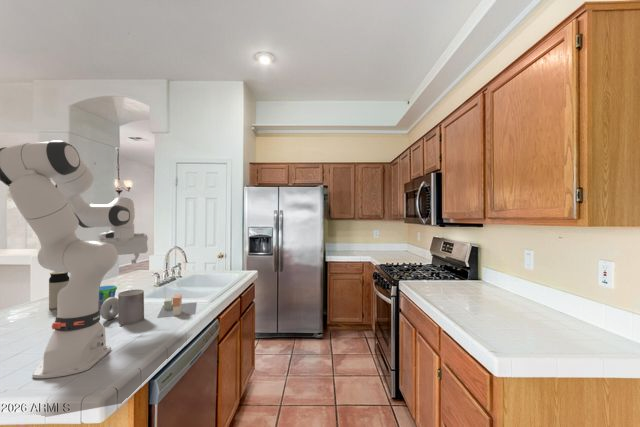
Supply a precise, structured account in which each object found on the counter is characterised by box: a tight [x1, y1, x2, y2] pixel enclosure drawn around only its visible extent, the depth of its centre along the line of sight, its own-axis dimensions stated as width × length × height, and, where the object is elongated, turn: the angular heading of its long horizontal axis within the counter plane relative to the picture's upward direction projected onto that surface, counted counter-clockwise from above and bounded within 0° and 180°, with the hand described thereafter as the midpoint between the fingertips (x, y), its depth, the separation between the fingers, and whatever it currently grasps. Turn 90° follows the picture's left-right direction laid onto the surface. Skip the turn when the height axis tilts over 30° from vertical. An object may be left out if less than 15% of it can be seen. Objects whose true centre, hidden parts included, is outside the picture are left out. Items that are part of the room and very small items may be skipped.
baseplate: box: [156, 301, 197, 319], centre depth 150 cm, size 20×16×1 cm
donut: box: [99, 296, 118, 321], centre depth 140 cm, size 10×4×10 cm, turn 175°
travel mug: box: [48, 271, 70, 310], centre depth 157 cm, size 8×8×18 cm
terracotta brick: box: [172, 294, 183, 307], centre depth 145 cm, size 6×3×4 cm, turn 17°
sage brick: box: [163, 297, 173, 310], centre depth 153 cm, size 6×3×4 cm, turn 20°
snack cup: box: [98, 285, 118, 310], centre depth 157 cm, size 16×10×10 cm
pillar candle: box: [117, 288, 145, 328], centre depth 135 cm, size 10×10×15 cm
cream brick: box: [173, 305, 181, 317], centre depth 145 cm, size 6×3×4 cm, turn 20°
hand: (122, 264), depth 138 cm, fingers open, 8 cm apart
